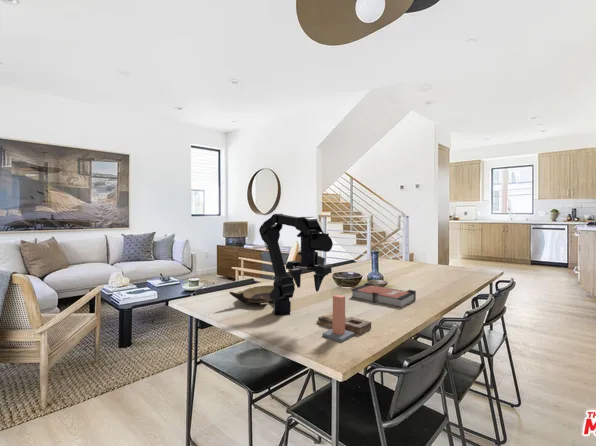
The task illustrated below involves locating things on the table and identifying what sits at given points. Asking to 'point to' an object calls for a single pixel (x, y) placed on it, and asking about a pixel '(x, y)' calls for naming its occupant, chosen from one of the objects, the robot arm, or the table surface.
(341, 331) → the pink bar
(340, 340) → the grey mat
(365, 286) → the book
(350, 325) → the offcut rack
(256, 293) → the oil lamp
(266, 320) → the table surface
